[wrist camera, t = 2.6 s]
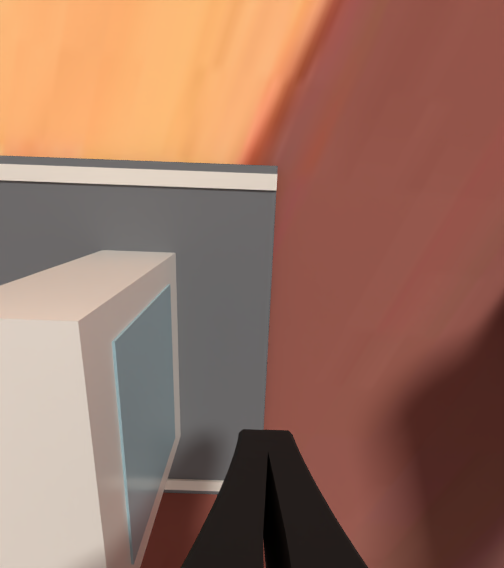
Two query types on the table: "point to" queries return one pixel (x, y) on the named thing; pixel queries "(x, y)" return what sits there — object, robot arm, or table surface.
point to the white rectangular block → (87, 409)
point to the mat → (189, 274)
